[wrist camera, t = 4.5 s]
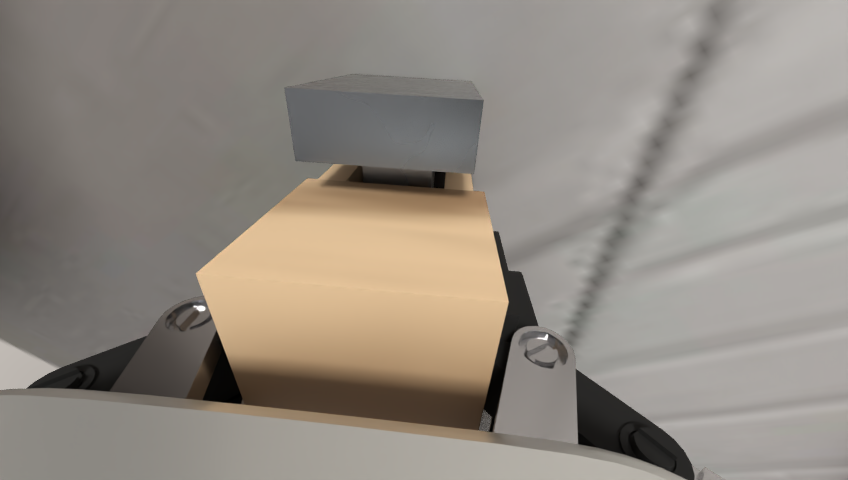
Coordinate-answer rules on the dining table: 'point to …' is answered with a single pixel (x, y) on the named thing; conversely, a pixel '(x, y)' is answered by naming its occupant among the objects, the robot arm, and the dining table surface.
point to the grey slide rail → (387, 126)
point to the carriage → (364, 301)
